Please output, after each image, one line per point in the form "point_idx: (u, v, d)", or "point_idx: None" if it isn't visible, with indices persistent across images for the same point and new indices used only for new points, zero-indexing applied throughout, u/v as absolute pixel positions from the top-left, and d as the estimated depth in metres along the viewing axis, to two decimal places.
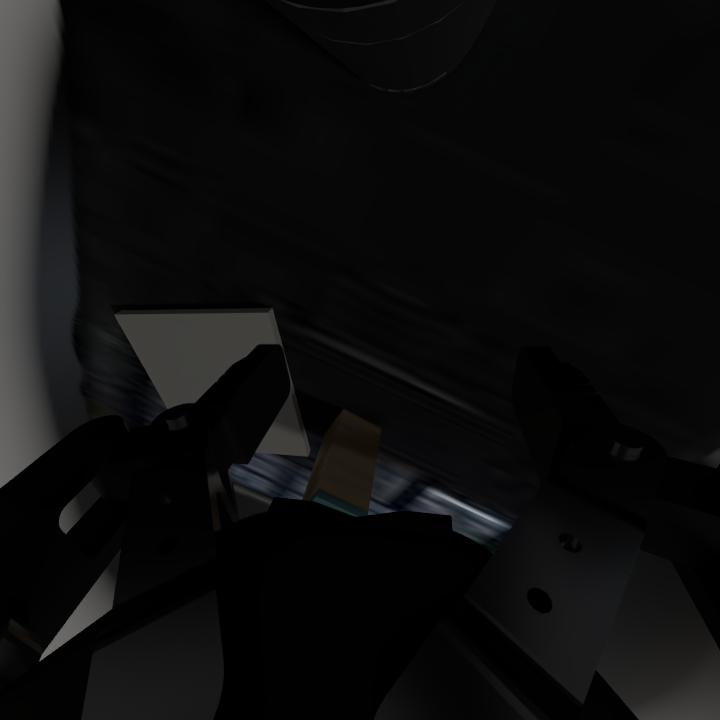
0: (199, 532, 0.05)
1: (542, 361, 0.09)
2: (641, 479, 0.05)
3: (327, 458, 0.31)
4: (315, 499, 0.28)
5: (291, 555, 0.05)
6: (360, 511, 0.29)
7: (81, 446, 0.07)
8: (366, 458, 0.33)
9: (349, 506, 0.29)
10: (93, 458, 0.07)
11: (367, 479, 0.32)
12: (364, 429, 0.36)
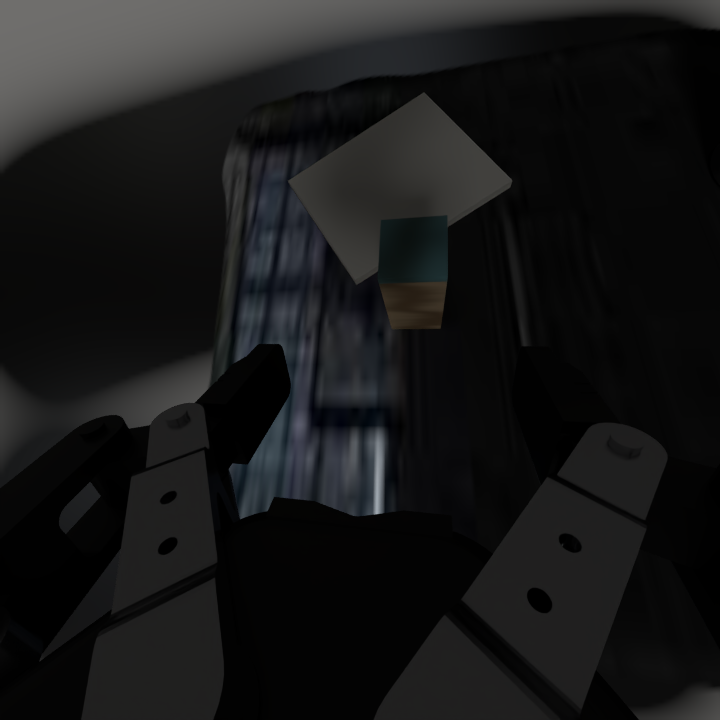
0: (199, 533, 0.05)
1: (542, 361, 0.09)
2: (641, 479, 0.05)
3: None
4: (440, 217, 0.24)
5: (291, 555, 0.05)
6: None
7: (81, 446, 0.07)
8: None
9: None
10: (93, 458, 0.07)
11: None
12: None
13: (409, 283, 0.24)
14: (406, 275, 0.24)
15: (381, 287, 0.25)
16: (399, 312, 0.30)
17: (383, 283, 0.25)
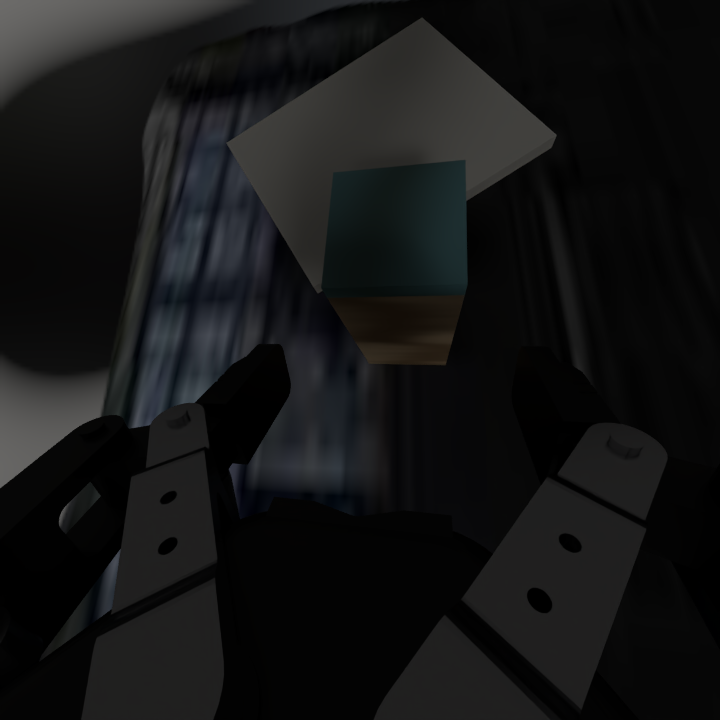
0: (199, 532, 0.05)
1: (542, 361, 0.09)
2: (641, 479, 0.05)
3: None
4: (452, 163, 0.12)
5: (291, 555, 0.05)
6: None
7: (81, 446, 0.07)
8: None
9: None
10: (93, 458, 0.07)
11: None
12: None
13: (387, 298, 0.12)
14: (379, 282, 0.11)
15: (334, 304, 0.13)
16: (377, 344, 0.18)
17: (335, 298, 0.12)
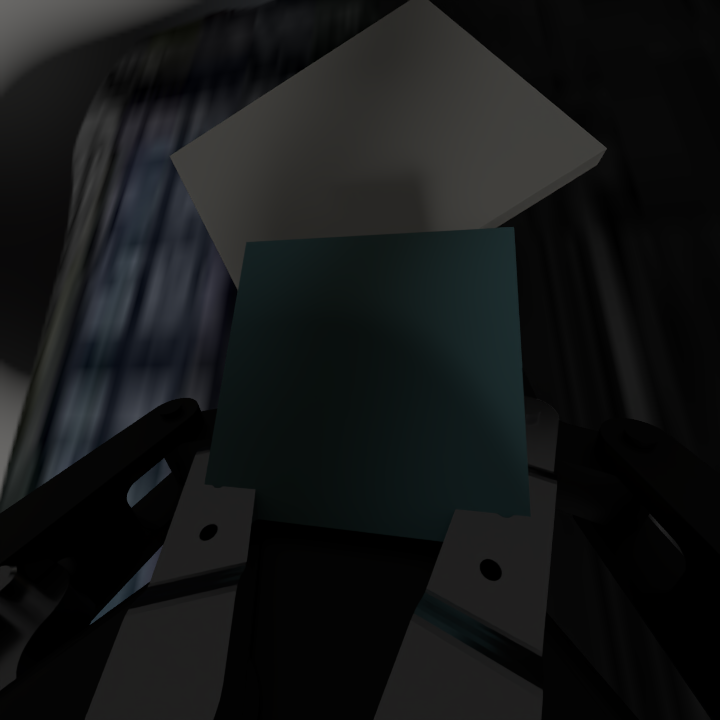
0: (238, 527, 0.05)
1: None
2: (530, 438, 0.06)
3: None
4: (485, 234, 0.06)
5: (291, 555, 0.05)
6: None
7: (158, 425, 0.08)
8: None
9: None
10: (164, 440, 0.07)
11: None
12: None
13: None
14: (325, 513, 0.05)
15: None
16: None
17: None
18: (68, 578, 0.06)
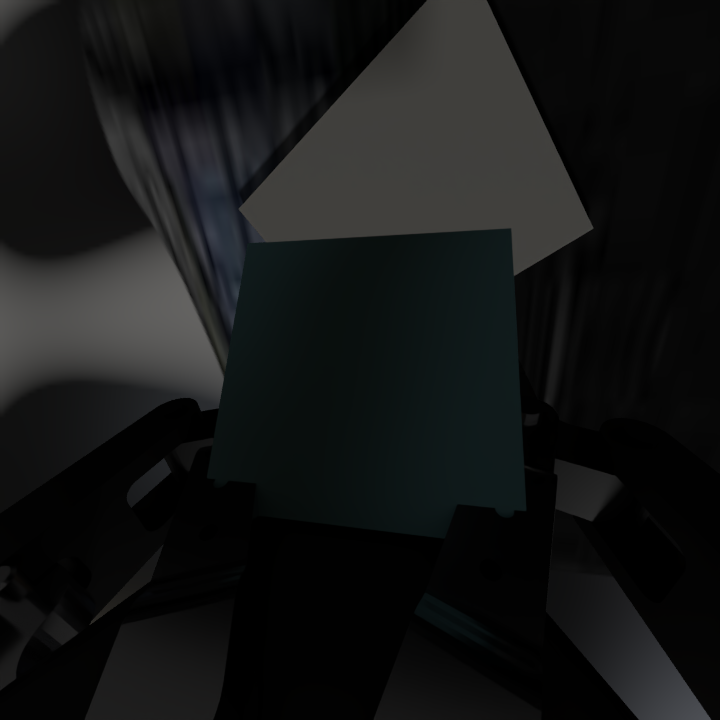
0: (238, 527, 0.05)
1: None
2: (530, 438, 0.06)
3: None
4: (482, 236, 0.06)
5: (291, 555, 0.05)
6: None
7: (158, 425, 0.08)
8: None
9: None
10: (164, 440, 0.07)
11: None
12: None
13: None
14: (324, 510, 0.05)
15: None
16: None
17: None
18: (68, 578, 0.06)
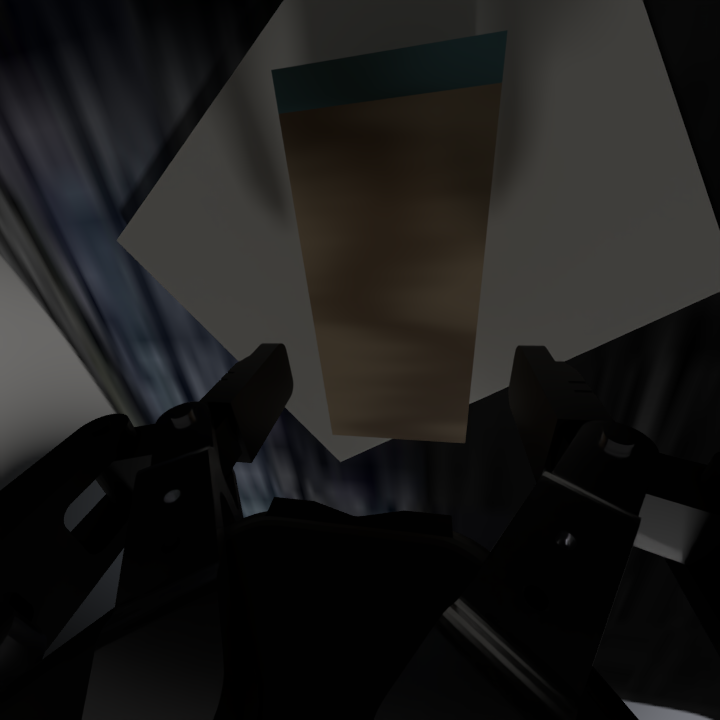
0: (201, 532, 0.05)
1: (538, 360, 0.09)
2: (632, 475, 0.05)
3: None
4: None
5: (291, 555, 0.05)
6: None
7: (86, 444, 0.07)
8: None
9: None
10: (98, 457, 0.07)
11: None
12: None
13: (373, 107, 0.07)
14: (364, 59, 0.07)
15: (287, 144, 0.08)
16: (349, 333, 0.10)
17: (291, 114, 0.08)
18: (12, 610, 0.05)
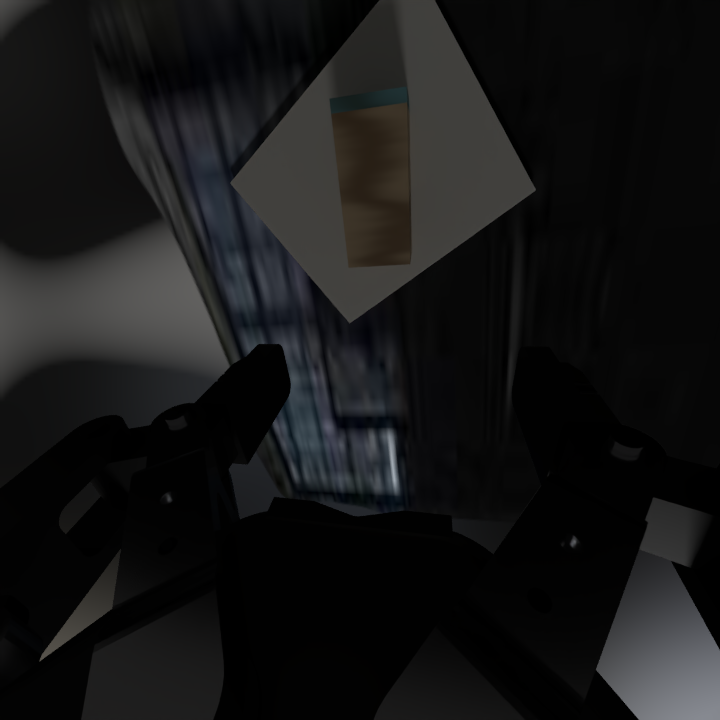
0: (199, 532, 0.05)
1: (542, 361, 0.09)
2: (641, 479, 0.05)
3: None
4: None
5: (291, 555, 0.05)
6: (407, 98, 0.21)
7: (81, 446, 0.07)
8: (409, 193, 0.24)
9: None
10: (93, 458, 0.07)
11: (408, 159, 0.23)
12: (410, 241, 0.27)
13: (365, 111, 0.21)
14: None
15: (333, 125, 0.22)
16: (356, 207, 0.24)
17: (335, 113, 0.22)
18: (8, 613, 0.05)
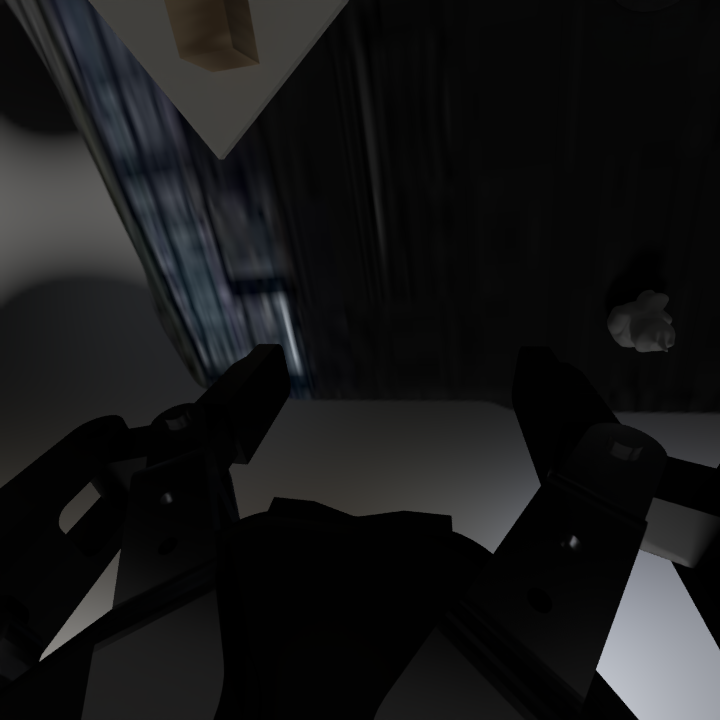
0: (199, 532, 0.05)
1: (542, 361, 0.09)
2: (641, 479, 0.05)
3: None
4: None
5: (291, 555, 0.05)
6: None
7: (81, 446, 0.07)
8: None
9: None
10: (93, 458, 0.07)
11: None
12: (240, 33, 0.28)
13: None
14: None
15: None
16: None
17: None
18: (8, 613, 0.05)
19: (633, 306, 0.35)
